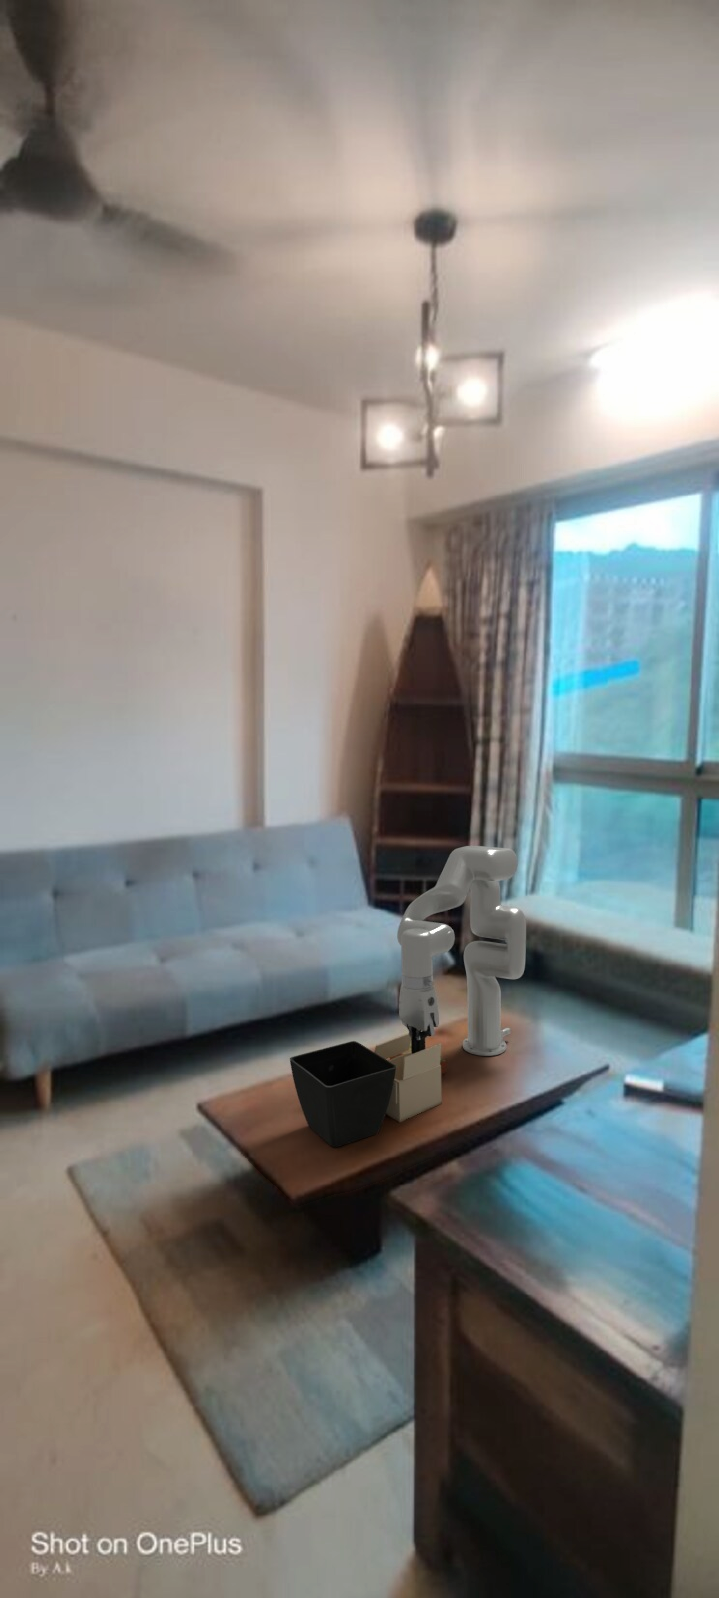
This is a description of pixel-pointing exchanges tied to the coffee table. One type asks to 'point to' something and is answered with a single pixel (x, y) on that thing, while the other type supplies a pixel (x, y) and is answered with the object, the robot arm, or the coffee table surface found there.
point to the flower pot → (343, 1091)
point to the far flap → (393, 1046)
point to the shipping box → (413, 1091)
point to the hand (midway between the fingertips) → (418, 1053)
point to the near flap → (421, 1061)
